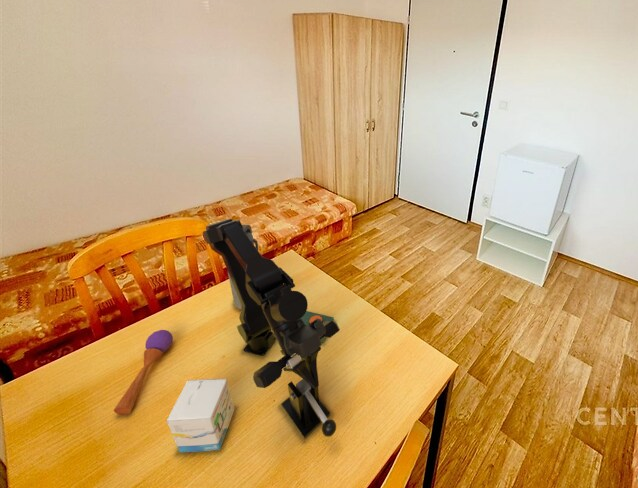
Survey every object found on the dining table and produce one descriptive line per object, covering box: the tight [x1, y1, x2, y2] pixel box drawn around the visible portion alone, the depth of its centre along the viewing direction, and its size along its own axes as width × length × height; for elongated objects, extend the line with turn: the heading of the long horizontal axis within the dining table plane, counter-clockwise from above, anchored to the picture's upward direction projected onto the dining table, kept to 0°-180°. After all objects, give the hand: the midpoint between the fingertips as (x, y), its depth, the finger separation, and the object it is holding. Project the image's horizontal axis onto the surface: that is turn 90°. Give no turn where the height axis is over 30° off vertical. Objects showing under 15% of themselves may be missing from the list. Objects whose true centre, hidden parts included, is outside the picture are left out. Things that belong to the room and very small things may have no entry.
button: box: [309, 315, 322, 323], centre depth 94 cm, size 4×4×2 cm
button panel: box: [300, 310, 335, 344], centre depth 96 cm, size 10×8×4 cm
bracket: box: [281, 380, 331, 440], centre depth 74 cm, size 10×7×11 cm
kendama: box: [113, 329, 174, 415], centre depth 80 cm, size 6×6×20 cm
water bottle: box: [227, 224, 259, 311], centre depth 99 cm, size 10×10×28 cm
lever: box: [295, 378, 337, 438], centre depth 70 cm, size 13×3×3 cm, turn 48°
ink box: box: [166, 378, 235, 454], centre depth 69 cm, size 9×8×12 cm
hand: (316, 387), depth 68 cm, fingers closed
